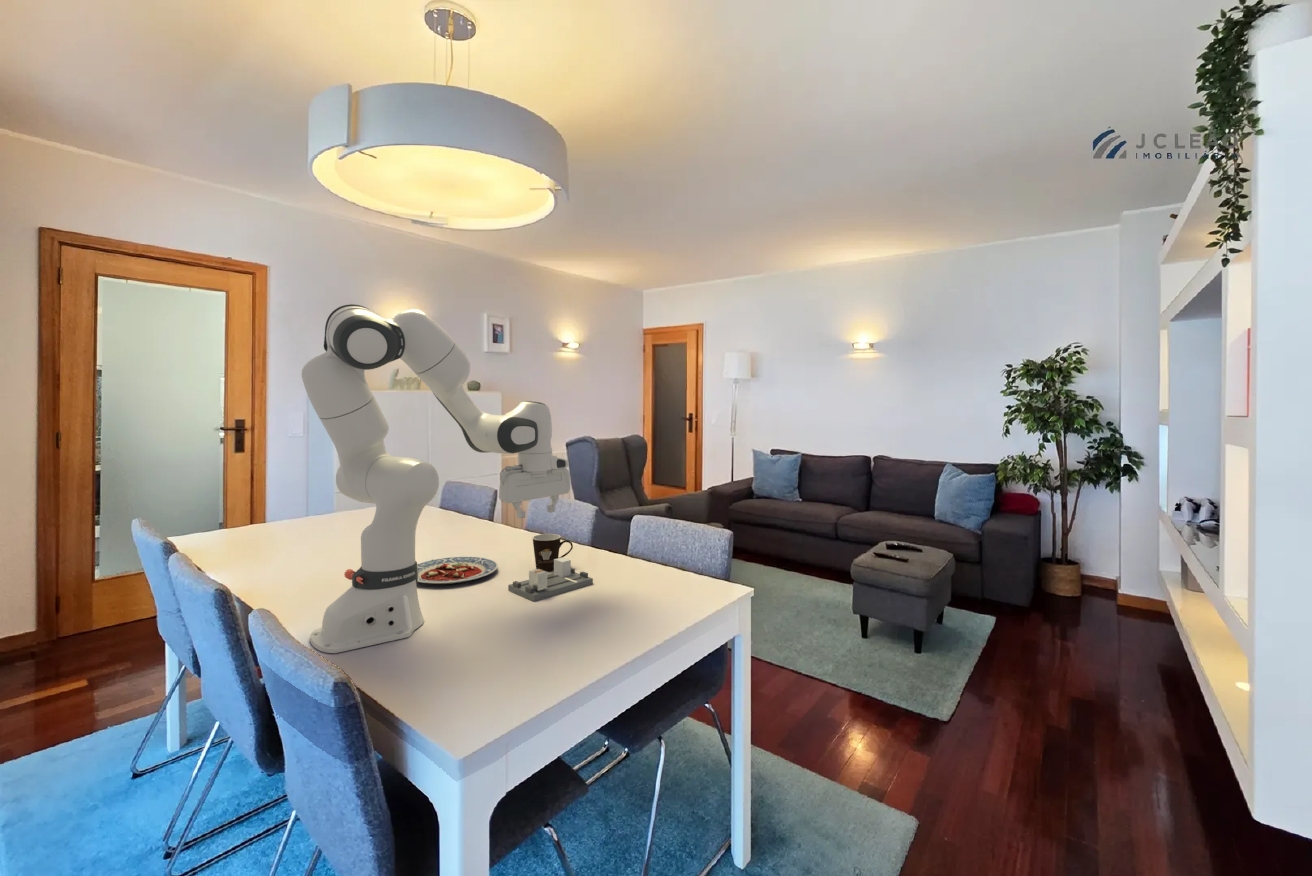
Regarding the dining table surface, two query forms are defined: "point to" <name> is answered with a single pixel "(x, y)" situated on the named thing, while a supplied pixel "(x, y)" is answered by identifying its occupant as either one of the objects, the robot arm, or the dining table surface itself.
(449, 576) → the ceramic plate
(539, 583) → the block
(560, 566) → the grey slider board
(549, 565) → the coffee mug
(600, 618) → the dining table surface
